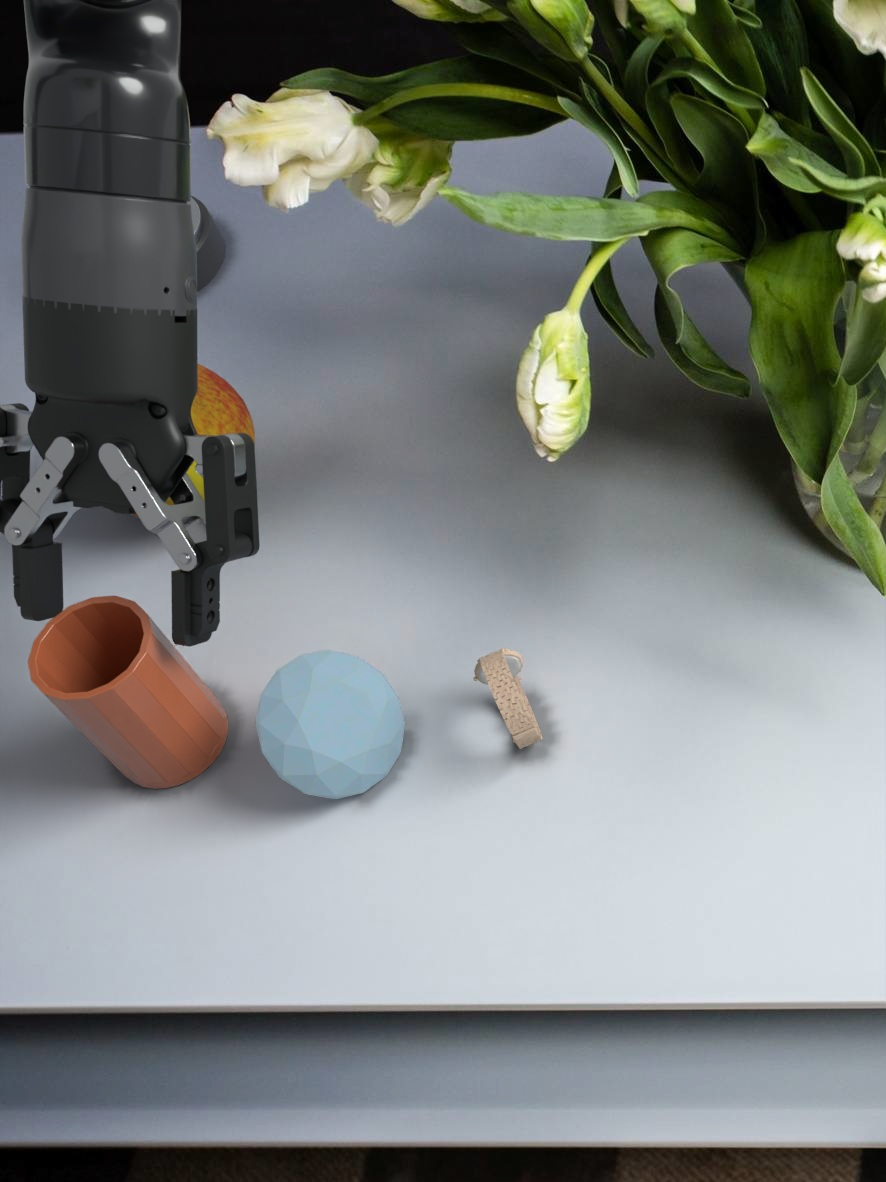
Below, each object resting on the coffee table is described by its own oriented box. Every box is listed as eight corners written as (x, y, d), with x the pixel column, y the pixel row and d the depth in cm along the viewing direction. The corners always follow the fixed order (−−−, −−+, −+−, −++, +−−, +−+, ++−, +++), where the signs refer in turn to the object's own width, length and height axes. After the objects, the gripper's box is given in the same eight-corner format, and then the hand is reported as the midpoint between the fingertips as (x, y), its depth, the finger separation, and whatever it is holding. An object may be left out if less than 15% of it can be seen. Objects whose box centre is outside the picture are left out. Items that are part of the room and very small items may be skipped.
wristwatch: (534, 681, 86) (507, 628, 82) (562, 751, 83) (536, 700, 79) (486, 701, 86) (457, 649, 81) (513, 772, 83) (485, 722, 79)
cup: (156, 810, 84) (68, 721, 77) (96, 744, 87) (5, 652, 79) (250, 734, 86) (173, 640, 78) (189, 672, 89) (109, 575, 81)
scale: (143, 329, 104) (121, 295, 101) (76, 271, 107) (53, 237, 105) (250, 255, 106) (231, 220, 104) (181, 201, 110) (161, 166, 107)
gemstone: (199, 733, 82) (228, 720, 78) (303, 633, 86) (335, 615, 82) (309, 837, 85) (342, 828, 81) (406, 734, 89) (442, 721, 85)
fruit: (161, 416, 99) (97, 322, 92) (298, 425, 98) (242, 330, 91) (98, 542, 94) (25, 453, 88) (240, 554, 93) (177, 464, 86)
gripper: (-79, 279, 75) (-64, 624, 78) (194, 310, 71) (196, 667, 75) (38, 282, 82) (46, 598, 86) (291, 310, 79) (288, 636, 83)
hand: (117, 630), depth 81 cm, fingers open, 8 cm apart
